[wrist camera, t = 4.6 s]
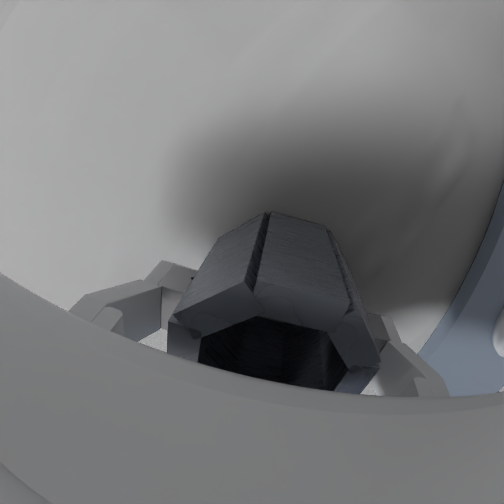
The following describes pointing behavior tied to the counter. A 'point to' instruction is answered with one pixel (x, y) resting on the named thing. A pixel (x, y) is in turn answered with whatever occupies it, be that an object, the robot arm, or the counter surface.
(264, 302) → the hub ring
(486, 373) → the post block
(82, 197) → the counter surface
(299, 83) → the counter surface
